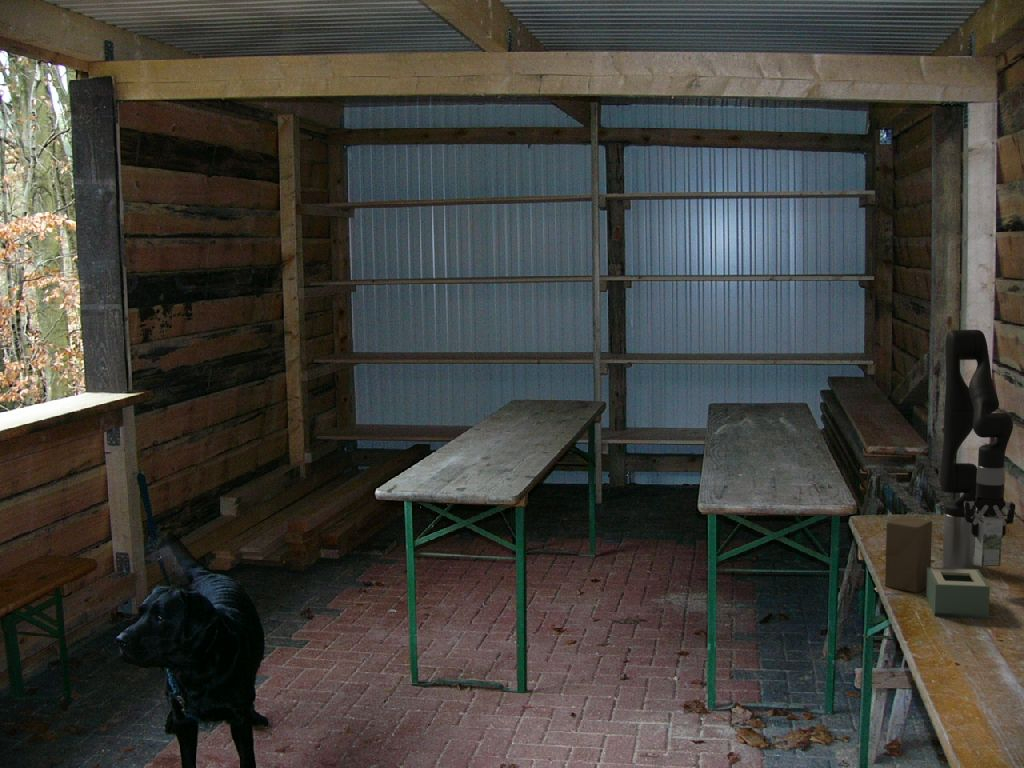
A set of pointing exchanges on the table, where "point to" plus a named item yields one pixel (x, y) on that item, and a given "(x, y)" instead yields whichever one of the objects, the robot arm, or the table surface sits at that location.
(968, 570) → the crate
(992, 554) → the syrup box
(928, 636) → the table surface
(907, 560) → the wooden block
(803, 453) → the table surface
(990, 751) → the table surface
